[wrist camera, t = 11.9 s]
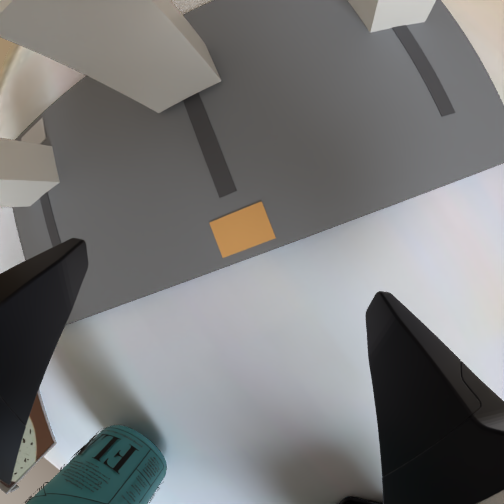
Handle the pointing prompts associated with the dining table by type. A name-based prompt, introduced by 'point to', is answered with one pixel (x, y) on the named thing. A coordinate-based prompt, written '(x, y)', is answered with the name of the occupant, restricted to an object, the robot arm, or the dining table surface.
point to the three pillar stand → (254, 142)
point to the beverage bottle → (108, 471)
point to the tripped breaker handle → (117, 44)
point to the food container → (32, 444)
